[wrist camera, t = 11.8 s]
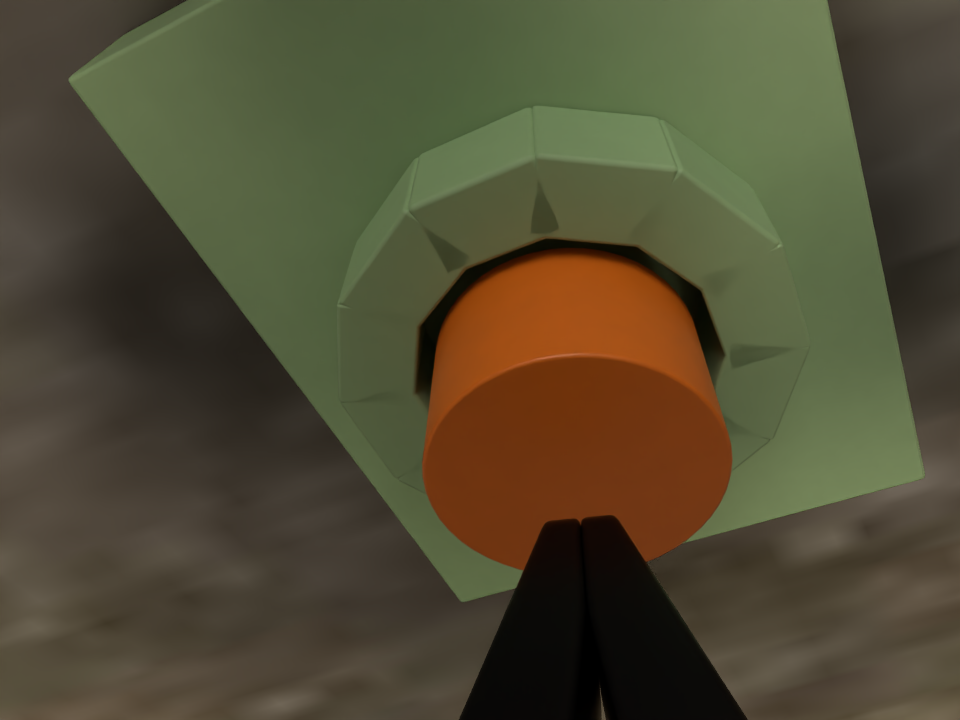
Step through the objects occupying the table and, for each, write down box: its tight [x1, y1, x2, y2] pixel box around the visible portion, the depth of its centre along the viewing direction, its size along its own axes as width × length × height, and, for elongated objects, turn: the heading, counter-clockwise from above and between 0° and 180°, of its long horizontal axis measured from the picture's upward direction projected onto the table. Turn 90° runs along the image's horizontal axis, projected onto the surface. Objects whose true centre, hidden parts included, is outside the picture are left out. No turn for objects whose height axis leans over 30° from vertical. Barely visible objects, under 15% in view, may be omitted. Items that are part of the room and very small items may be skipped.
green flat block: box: [69, 0, 925, 602], centre depth 14 cm, size 13×10×4 cm
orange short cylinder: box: [422, 248, 733, 570], centre depth 12 cm, size 4×4×3 cm
